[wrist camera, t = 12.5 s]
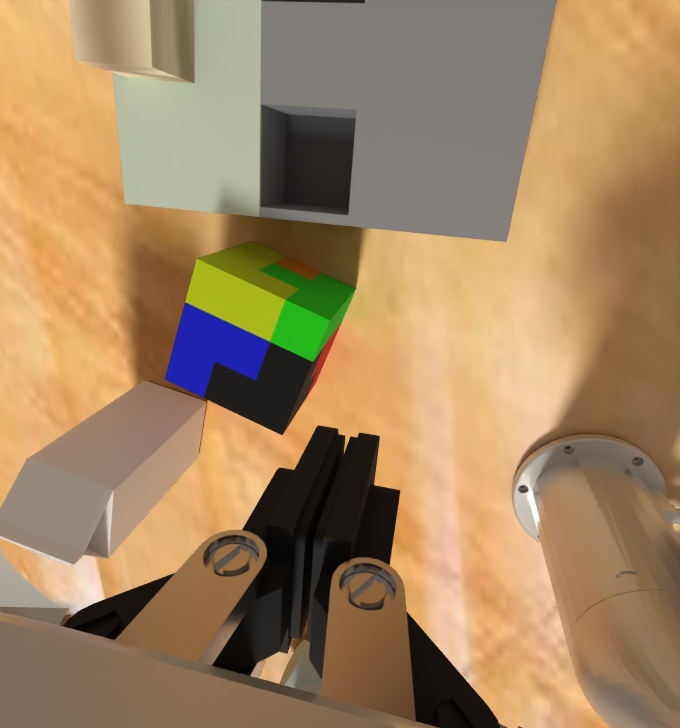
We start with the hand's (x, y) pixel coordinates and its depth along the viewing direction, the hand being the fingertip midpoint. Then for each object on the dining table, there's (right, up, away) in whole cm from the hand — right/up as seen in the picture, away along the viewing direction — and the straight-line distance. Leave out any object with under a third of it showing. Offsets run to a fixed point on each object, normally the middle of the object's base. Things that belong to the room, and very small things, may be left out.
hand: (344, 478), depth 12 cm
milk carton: (-18, -3, +37) cm, 41 cm away
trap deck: (-1, +25, +22) cm, 33 cm away
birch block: (-12, +25, +18) cm, 33 cm away
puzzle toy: (-5, +8, +30) cm, 32 cm away
